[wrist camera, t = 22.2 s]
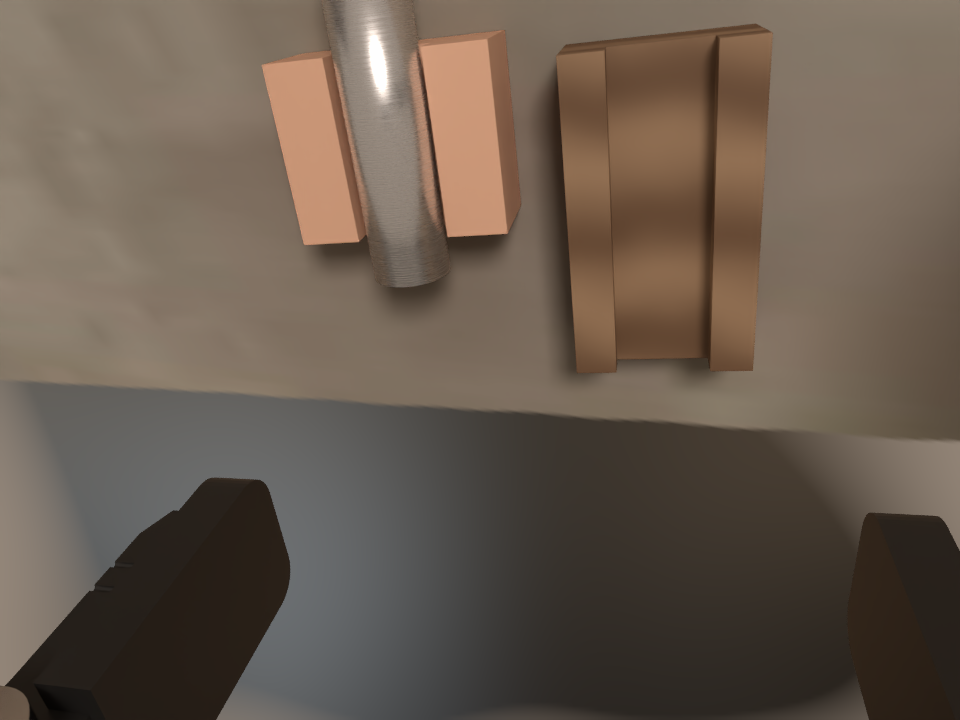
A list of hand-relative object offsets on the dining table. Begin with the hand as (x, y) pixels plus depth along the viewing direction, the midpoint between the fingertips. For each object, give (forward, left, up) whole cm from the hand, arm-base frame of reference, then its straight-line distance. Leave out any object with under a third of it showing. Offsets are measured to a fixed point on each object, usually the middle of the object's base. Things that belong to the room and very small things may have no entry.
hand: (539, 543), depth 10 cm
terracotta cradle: (0, -11, -32) cm, 34 cm away
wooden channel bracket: (+4, +2, -32) cm, 33 cm away
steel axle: (-2, -11, -29) cm, 31 cm away
